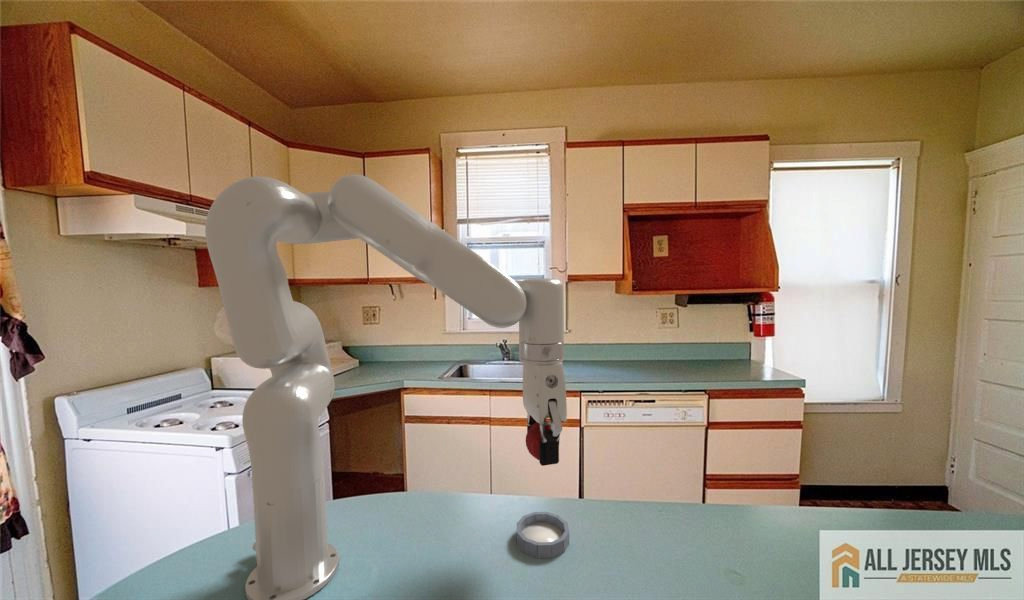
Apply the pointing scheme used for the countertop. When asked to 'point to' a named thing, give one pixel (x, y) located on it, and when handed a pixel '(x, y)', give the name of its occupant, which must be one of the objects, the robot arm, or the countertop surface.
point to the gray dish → (542, 534)
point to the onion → (535, 439)
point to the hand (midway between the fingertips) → (542, 454)
